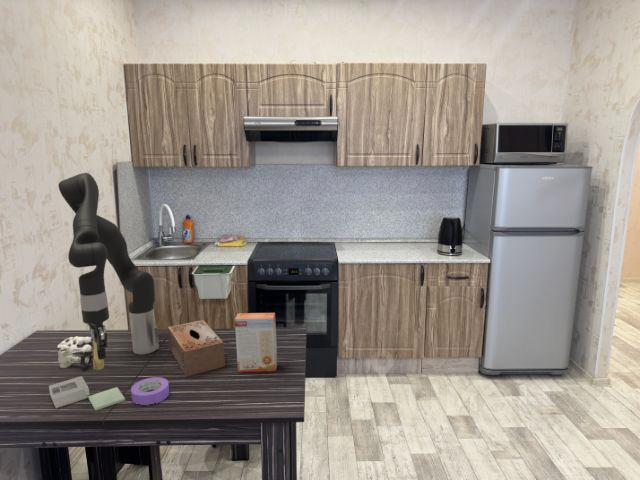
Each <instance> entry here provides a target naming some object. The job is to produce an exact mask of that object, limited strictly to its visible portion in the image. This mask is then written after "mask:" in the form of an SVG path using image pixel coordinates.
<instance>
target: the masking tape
mask: <svg viewBox="0 0 640 480" xmlns="http://www.w3.org/2000/svg"><path fill="white" fill-rule="evenodd" d="M169 384H170V383H169V380H168V379H167V378H165V377H157V376H156V377H155V376H154V377H153V376H152V377H148V378H145V379H141V380H139V381H137V382H136V383H134V384H133V385H132V386H131V387H130V388H131V389H130V394H131V402H132V403H133V402H134V403H136V404H141V405H147V406H150V405H149V404H153V405H155V404H154V403H156V404H159V403H161V402H163V401H164V400H166V399H167V398H168V397H169V396H170V385H169ZM151 390H152V391H151ZM158 402H159V403H158ZM134 403H133V404H134ZM136 404H135V405H136ZM141 405H140V406H141Z"/></svg>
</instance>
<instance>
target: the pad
mask: <svg viewBox="0 0 640 480" xmlns="http://www.w3.org/2000/svg"><path fill="white" fill-rule="evenodd" d="M87 399H88V400H89V402H90V403H91V404H90V405H92V406H91V407H93V409H94V411H98V410H102V409H104V408H107V407H110V406H113V405H116V404H118V403H122V402H125V401H126V397H124V395H123V393H122V392H121V390H120V389H119V388H118V386H116V387H113V388H110V389H106V390H104V391H101V392H97V393H94V394H90V396H88V398H87Z"/></svg>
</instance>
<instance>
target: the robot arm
mask: <svg viewBox="0 0 640 480" xmlns="http://www.w3.org/2000/svg"><path fill="white" fill-rule="evenodd" d="M58 190H59V192H60V195H61V196H62V198H63V199H64V201H65V202H66V203H67V205H68V206H69V207H70V209H72V211H73V212H74V213H75V215H74V217H73V219H72V220H73V221H72V230H73V231H72V232H73V233H72V234H73V238H72V242H71V245H70V247H69V250H68V257H67V258H68V261H69V262H68V263H70V265H71V266H72V267H75V268H78V269H79V268H87V267H95V268H94V269H93V270H91V271H88V272H85V273H84V274H81V275H80V276H78V287H79V294H80V296H79V297H80V298H79V299H80V309H81V316H82V323H83V324H85V325H88V329H89V333H90V337H91V341H92V344H93V345H94V342H96V348H97V354H98V359H99V360H101V359H104V360H105V359H106V358H107V355H106V354H107V353H106V348H108V333H107V328H106V325H104V323H105V322H106V321H107V320H109V318H110V311H109V310H110V309H109V303H108V296H107V293H106V286H105V284H106V283H105V270H106V269H105V268H106V263H107V262H109V264H110V265H111V267H112V268H113V270H114V272H115V273H116V275H117V277H118V279H119V281H120V284H121V285H122V287H123V288H124V289H125V290H126V291H127V292H129V293H132V301H131V302H130V303H129V304H128V314H129V323H130V325H129V326H130V333H131V335H130V336H131V343H132V351H133V353H134V354H136V355H147V354H151V353H153V352H155V351H156V350H159V349H160V344H159V343H160V342H159V332H158V326H157V325H156V318H155V309H154V304H155V300H156V297H155V296H156V295H155V282H154V281H155V280H154V277H153V276H152V274H151V273H149V272H147V271H145V270H140V269H139V268H138V267H137V266H136V265H135V263H134V262H133V260H132V259H131V258H130V255H129V252H128V251H129V250H128V245H127V241H126V239H125V237H124V236H123V234H122V233H121V231H120V229H119V227H118V226H117V225H116V224H115V223H113V222H112V221H110V220H108V219H106V218H104V217H102V216H101V215H99V214H98V208H99V197H100V190H99V185H98V184H97V181H96V180H95V178H94V176H92V174H90V173H88V172H82V173H78V174H77V175H72V176H71V177H68V178H65V179H63V180H61V181H60V182H59V183H58ZM105 331H106V333H105ZM92 334H93V336H92ZM96 338H98V339H96ZM100 344H101V345H100Z"/></svg>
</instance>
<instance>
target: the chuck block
mask: <svg viewBox="0 0 640 480" xmlns="http://www.w3.org/2000/svg"><path fill="white" fill-rule="evenodd" d="M48 390H49V396H50V399H51V401H52V403H53V406H54V408H55V409H58V408H62V407H64V406H67V405H71V404H74V403H76V402H79V401H84V400H86V399H89V398H88V396H91V394H90V389H89V386H88V384H87V383H86V381H85V379H84V377H83V376H81V375H80V376H76V377H74V378H70V379H67V380H64V381H61V382H57V383H54V384H53V383H52V384H50V385H48Z"/></svg>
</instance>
